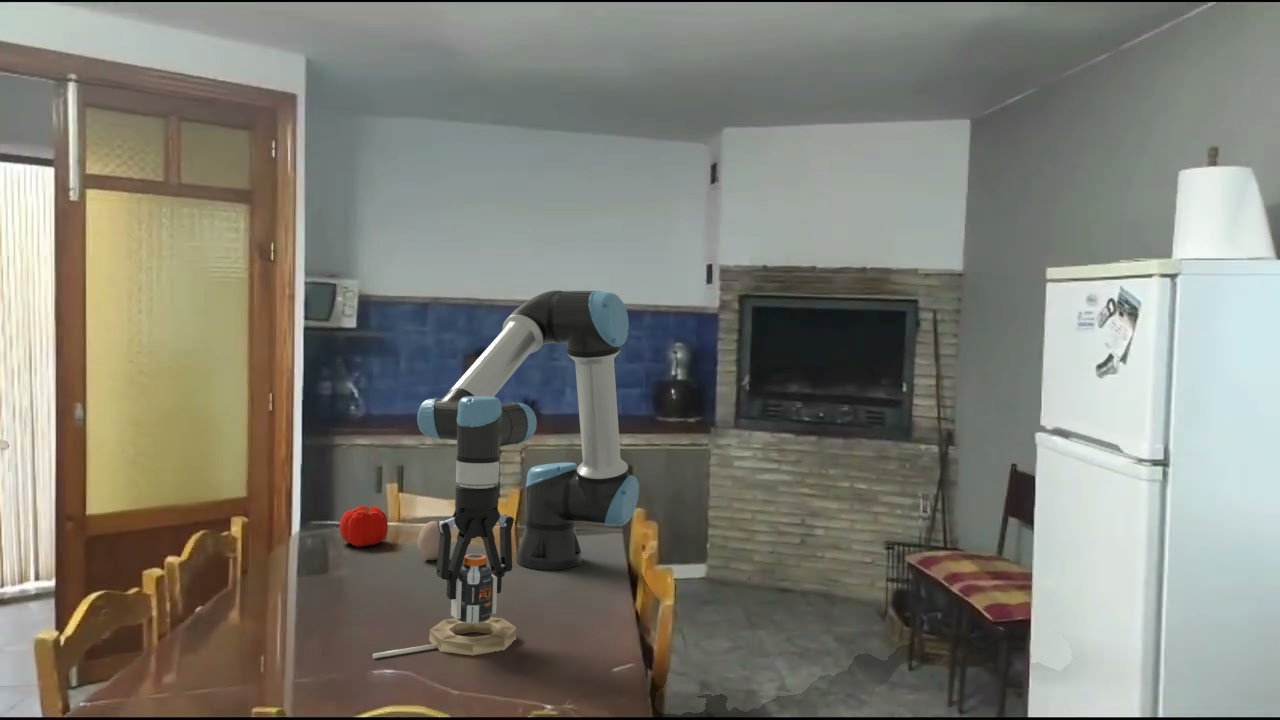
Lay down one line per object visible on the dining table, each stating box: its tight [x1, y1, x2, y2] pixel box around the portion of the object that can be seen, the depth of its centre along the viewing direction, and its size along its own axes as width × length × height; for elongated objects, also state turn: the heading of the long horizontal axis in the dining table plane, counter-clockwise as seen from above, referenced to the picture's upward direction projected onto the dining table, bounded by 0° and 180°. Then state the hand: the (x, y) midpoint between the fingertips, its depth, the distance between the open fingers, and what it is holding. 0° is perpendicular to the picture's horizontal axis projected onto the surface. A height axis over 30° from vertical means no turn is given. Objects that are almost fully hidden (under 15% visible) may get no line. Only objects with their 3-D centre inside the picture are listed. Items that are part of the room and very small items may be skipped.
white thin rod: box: [372, 643, 438, 660], centre depth 159 cm, size 11×1×1 cm, turn 122°
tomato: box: [339, 505, 389, 548], centre depth 231 cm, size 11×12×9 cm
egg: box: [417, 520, 440, 561], centre depth 219 cm, size 7×7×9 cm
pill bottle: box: [458, 553, 492, 623], centre depth 166 cm, size 6×6×11 cm
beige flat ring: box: [429, 616, 518, 656], centre depth 166 cm, size 14×14×2 cm
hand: (473, 613), depth 166 cm, fingers closed on pill bottle, 6 cm apart
